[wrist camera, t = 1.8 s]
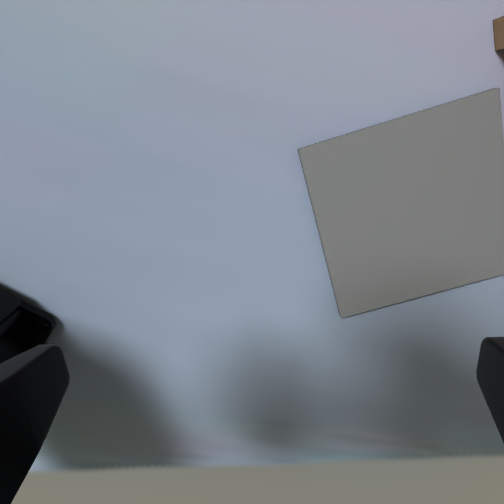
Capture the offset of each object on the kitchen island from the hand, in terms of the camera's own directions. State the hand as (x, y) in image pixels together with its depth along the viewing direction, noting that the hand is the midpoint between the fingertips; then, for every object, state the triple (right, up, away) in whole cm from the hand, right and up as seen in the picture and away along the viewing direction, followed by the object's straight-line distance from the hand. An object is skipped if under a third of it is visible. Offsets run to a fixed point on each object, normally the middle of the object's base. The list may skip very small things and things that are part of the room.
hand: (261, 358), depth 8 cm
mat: (+8, +4, +11) cm, 14 cm away
